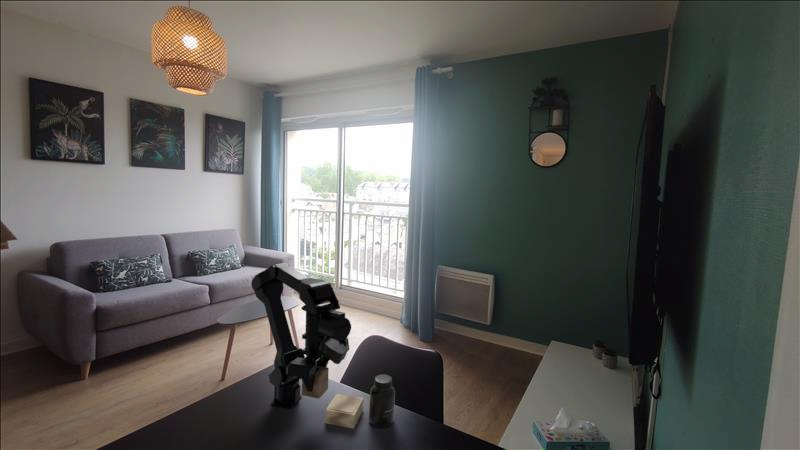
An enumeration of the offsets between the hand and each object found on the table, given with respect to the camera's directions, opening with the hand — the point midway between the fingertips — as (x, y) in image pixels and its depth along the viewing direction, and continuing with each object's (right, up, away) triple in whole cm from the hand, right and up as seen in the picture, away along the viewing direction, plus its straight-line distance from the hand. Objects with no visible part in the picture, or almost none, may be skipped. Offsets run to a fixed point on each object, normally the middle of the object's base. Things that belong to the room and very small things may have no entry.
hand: (315, 386), depth 96 cm
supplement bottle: (+17, -11, +3) cm, 21 cm away
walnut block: (0, -2, 0) cm, 2 cm away
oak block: (+7, -10, +3) cm, 13 cm away
